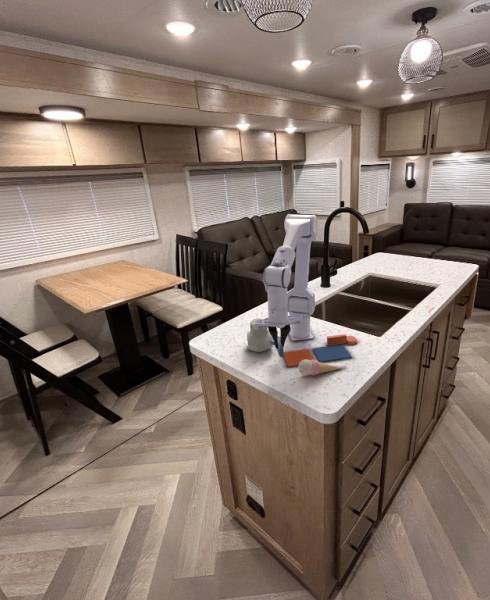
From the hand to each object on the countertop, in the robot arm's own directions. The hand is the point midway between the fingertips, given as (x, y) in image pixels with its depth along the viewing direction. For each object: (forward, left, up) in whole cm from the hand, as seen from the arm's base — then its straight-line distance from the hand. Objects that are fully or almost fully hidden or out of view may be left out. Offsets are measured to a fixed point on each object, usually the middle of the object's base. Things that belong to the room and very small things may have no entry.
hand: (279, 346), depth 98 cm
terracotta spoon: (-10, +24, -8) cm, 27 cm away
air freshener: (-14, -5, -8) cm, 17 cm away
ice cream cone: (+5, +11, -8) cm, 15 cm away
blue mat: (-4, +18, -8) cm, 20 cm away
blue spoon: (-2, 0, -2) cm, 2 cm away
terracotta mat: (-4, +7, -8) cm, 11 cm away
